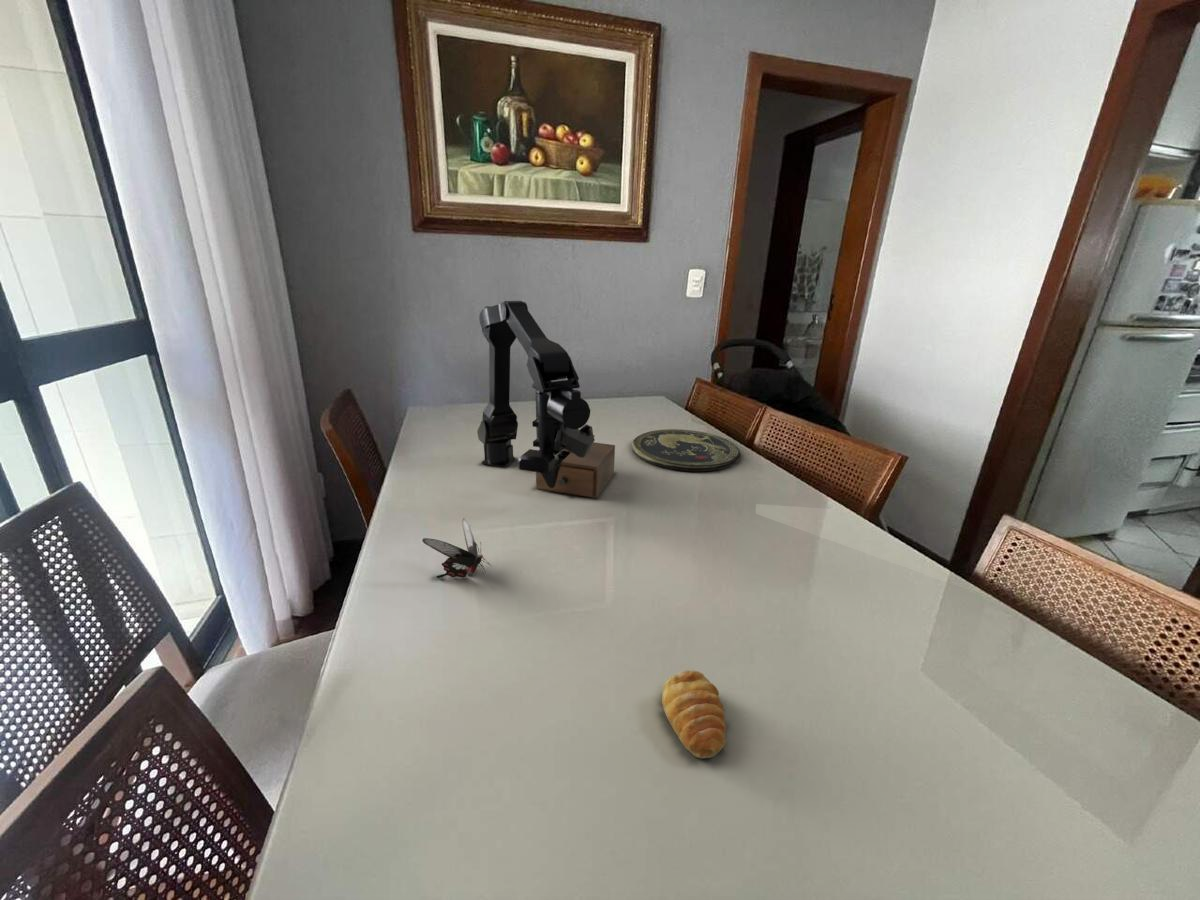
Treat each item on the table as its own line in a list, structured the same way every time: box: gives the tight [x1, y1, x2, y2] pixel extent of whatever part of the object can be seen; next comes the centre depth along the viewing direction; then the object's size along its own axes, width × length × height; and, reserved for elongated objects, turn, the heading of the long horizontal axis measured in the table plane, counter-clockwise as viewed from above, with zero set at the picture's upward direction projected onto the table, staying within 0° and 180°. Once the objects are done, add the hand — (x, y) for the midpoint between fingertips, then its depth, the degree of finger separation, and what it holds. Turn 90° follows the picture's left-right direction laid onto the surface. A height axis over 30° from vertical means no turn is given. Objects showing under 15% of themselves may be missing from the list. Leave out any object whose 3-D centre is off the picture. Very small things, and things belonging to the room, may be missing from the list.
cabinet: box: [535, 441, 616, 499], centre depth 115 cm, size 15×15×8 cm
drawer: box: [535, 466, 594, 498], centre depth 113 cm, size 15×13×6 cm
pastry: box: [661, 670, 727, 759], centre depth 55 cm, size 9×7×4 cm
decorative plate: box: [631, 428, 741, 472], centre depth 136 cm, size 30×2×30 cm
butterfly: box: [421, 517, 491, 579], centre depth 79 cm, size 11×8×10 cm
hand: (551, 487), depth 100 cm, fingers closed
